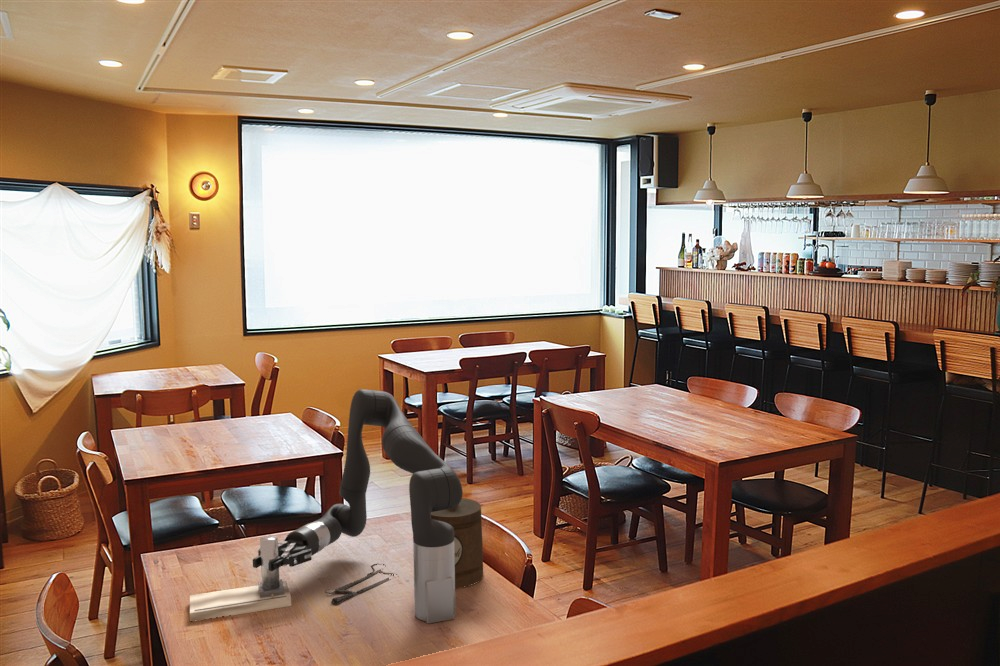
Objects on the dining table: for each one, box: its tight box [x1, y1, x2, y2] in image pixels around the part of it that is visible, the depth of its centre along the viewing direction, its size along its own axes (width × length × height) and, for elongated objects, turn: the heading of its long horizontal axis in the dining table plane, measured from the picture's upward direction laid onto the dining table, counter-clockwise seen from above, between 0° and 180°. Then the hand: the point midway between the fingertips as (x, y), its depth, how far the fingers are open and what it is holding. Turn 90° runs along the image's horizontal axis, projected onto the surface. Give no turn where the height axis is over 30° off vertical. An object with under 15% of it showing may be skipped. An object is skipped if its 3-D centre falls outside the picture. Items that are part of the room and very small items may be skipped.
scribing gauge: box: [257, 534, 284, 598], centre depth 194 cm, size 7×6×13 cm
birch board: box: [189, 580, 292, 622], centre depth 193 cm, size 10×22×2 cm, turn 110°
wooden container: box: [431, 497, 484, 589], centre depth 207 cm, size 15×15×22 cm
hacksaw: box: [324, 563, 398, 605], centre depth 205 cm, size 24×10×2 cm, turn 143°
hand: (262, 565), depth 192 cm, fingers closed on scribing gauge, 4 cm apart
